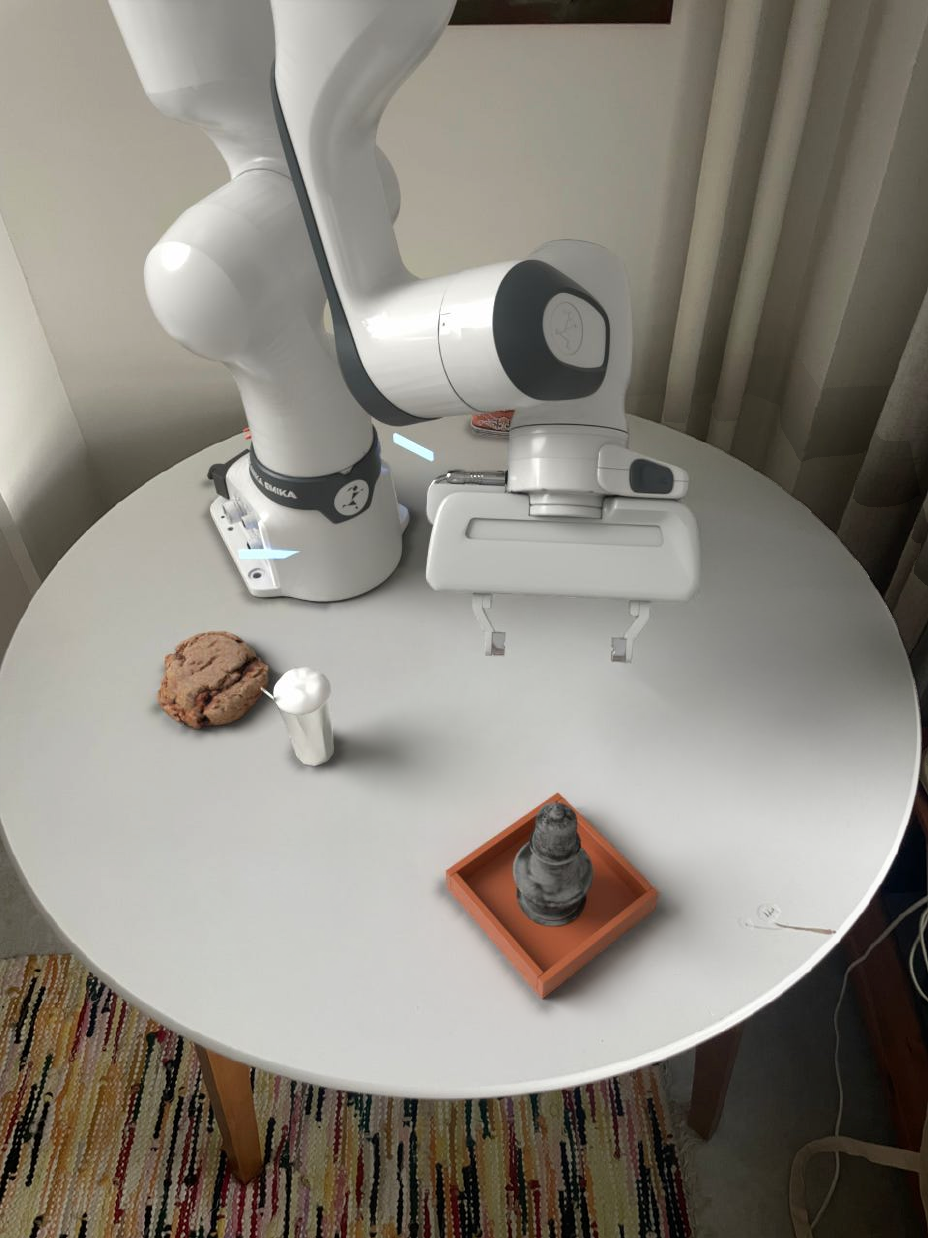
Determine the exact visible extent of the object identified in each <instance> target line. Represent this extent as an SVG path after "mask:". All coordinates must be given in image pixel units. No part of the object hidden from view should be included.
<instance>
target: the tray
mask: <svg viewBox="0 0 928 1238" xmlns="http://www.w3.org/2000/svg"><path fill="white" fill-rule="evenodd" d="M553 802H559V803H563V804H566V805H568V806H569V807H570V808H572V809H573V811H574V812H575V814H576V817H577V822H578V825H577V833H578V834H579V837H580V840H581V847H582V848H583V849H584V850H585V851H586V852H587V854H588V856H589V857H590V859H591V862H592V865H593V880H592V884H591V887H590V889H589V890H588V892H587V893H586V903H585V907H584V909H583V911H582V912H581V914H580V915H579V916H578V917H577V918H576V919H575V920H574V921H572V922H570V923H568V924H566V925H562V926H557V927H551V926H544V925H541V924H537V923H536V922H534V921H532V920H531V919H529V918H528V917H527V916H526V915H525V914H524V913H523V912H522V910H521V908H520V906H519V904H518V900H517V885H516V883H515V880H514V876H513V863H514V860H515V857H516V855H517V853H518V852H519V851H520V849H521V848H522V847H523V846H524V845H525V844H526V843H528V842H529V838H530V835H531V833H532V831H533V830H534V829H535V825H536V816H537V813H538V811H539V810H540V809H541V807H543V806H544V805H546V804H548V803H553ZM445 880H446V888H447V890H449V892H450V893H451V894H452V895H453V896H454V898H455V899H456V900H457V901H458V902H459V903H460V905H461V906H462V907H463V908H464V909H465V910H466V912H467V913H468V915H470V916H471V918H473V920H474V921H475V922H476V923H477V925H479V927H480V928H481V929H482V930H483V932H484V933H485V934H486V935H487V936H488V938H489V939H490V940H491V941H492V942H493V944H494V945H495V946H496V947H497V948H498V949H499V951H501V953H502V954H503V955H504V956H505V958H506V959H507V960H508V961H509V962H510V963H511V965H512V966H513V967H514V968H515V969H516V970H517V972H518V973H519V974H520V975H521V976H522V977H523V979H524V980H525V981H526V983H528V984H529V986H530V987H531V988H532V990H533V991H534V992H535V993H536V994H537V995H538V996H539V997H540V999H541V1000H543V999H544V998H546V997H547V996H548V995H549V994H551V993H552V992H553V991H554V990H555V989H557V988H558V987H559V986H561V985H562V984H564V982H565V981H567V980H569V979H570V978H571V977H573V975H575V974H576V973H577V972H578V971H579V970H581V969H582V968H583V967H584V966H586V965H587V964H588V963H590V962H591V961H592V960H593V959H595V958H596V957H597V956H598V955H599V954H601V953H602V952H603V951H604V950H606V949H607V948H608V947H609V946H610V945H612V944H613V943H614V942H616V941H617V940H618V939H619V938H621V937H622V936H623V935H624V934H625V933H627V932H628V931H629V930H630V929H632V928H634V926H636V925H637V924H638V923H639V922H641V921H642V920H643V919H644V918H645V917H647V916H648V915H649V914H650V913H652V912H654V910H656V908H657V903H658V899H659V895H660V892H659V891H658V889H656V887H654V886H653V885H652V883H650V882H649V881H648V880H647V879H646V878H645V877H644V875H642V874H641V873H640V872H639V871H638V870H637V869H636V868H635V867H634V866H633V864H631V863H630V862H629V861H628V860H627V859H626V858H625V856H623V855H622V854H621V853H620V852H619V851H618V850H617V849H616V848H615V847H614V846H613V845H612V844H611V843H610V842H609V841H608V840H607V839H606V838H605V837H604V836H603V835H602V834H601V833H600V832H599V831H598V830H597V829H596V828H595V827H594V826H593V825H591V823H590V822H589V821H588V820H586V818H584V817H583V815H582V814H580V812H578V810H577V809H575V807H574V806H573V805H571V803H570V802H568V800H566V798H564V797H563V795H562V794H561V793H560V792H555V793H554V794H552V795H551V796H550V797H549V798H547V799H546V800H545V801H543V802H542V803H541V804H538V805H537V806H536V807H535V808H533V809H532V810H530V811H529V812H528V813H526V814H524V815H523V816H521V817H520V818H518V820H515V821H514V822H513V823H511V824H510V825H509V826H507V827H505V829H503V830H502V831H500V832H499V833H497V834H496V835H495V836H493V837H492V838H490V839H489V840H487V841H486V842H484V843H483V844H481V845H480V846H479V847H477V848H476V849H475V850H472V852H470V853H469V854H468V855H466V856H464V857H463V858H461V860H459V861H458V862H456V863H454V864H453V865H452V866H450V867H449V868H447V869H446V870H445Z"/></svg>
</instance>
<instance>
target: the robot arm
mask: <svg viewBox="0 0 928 1238" xmlns="http://www.w3.org/2000/svg"><path fill="white" fill-rule="evenodd" d="M457 1H458V0H107V2H108V5H109V7H110V10H111V12H112V15H113V17H114V20H115V22H116V25H117V28H118V29H119V32H120V35H121V37H122V39H123V42H124V45H125V47H126V49H127V52H128V54H129V57H130V59H131V61H132V64H133V66H134V69H135V71H136V74H137V76H138V79H139V81H140V83H141V86H142V88H143V91H144V93H145V95H146V97H147V98H148V100H149V101H150V102H151V104H152V105H153V106H154V107H155V108H156V109H157V110H158V111H159V112H160V113H161V114H163V115H164V116H166V117H168V118H169V119H171V120H174V121H176V122H179V123H181V124H185V125H187V126H193V127H196V128H199V129H200V130H202V132H204V134H206V136H207V137H208V138H209V139H210V140H211V141H212V143H213V144H214V146H215V147H216V149H217V150H218V151H219V154H221V156H222V158H223V160H224V162H225V163H226V165H227V168H228V170H229V175H230V181H228V182H227V183H225V184H224V185H222V186H221V187H219V188H218V189H215V191H213V192H211V193H210V194H208V195H207V196H205V197H204V198H202V199H201V200H199V201H198V202H196V203H194V204H193V205H191V206H190V207H188V208H187V209H186V210H184V211H183V212H182V213H181V214H180V215H179V217H177V219H176V220H175V221H174V222H173V223H172V224H171V225H170V227H168V229H167V230H166V231H165V232H164V233H163V234H162V236H161V237H160V238H159V240H158V241H157V242H156V243H155V244H154V245H153V247H152V248H151V250H150V251H149V252H148V254H147V256H146V259H145V262H144V265H143V266H144V267H143V282H144V290H145V293H146V297H147V300H148V303H149V306H150V309H151V310H152V313H153V315H154V317H155V318H156V320H157V322H158V324H159V325H160V326H161V328H162V329H163V330H164V331H165V332H166V334H167V335H168V336H169V337H170V338H171V339H172V340H173V341H175V342H176V343H177V344H178V345H179V346H180V347H182V348H184V349H185V350H187V351H188V352H189V353H191V354H193V355H194V356H195V355H196V356H197V357H200V358H203V359H205V360H208V361H210V362H211V361H212V362H217V363H221V364H222V365H223V366H225V368H226V369H227V370H228V372H229V373H230V374H231V376H232V377H233V379H234V382H235V383H236V386H237V388H238V391H239V395H240V398H241V402H242V405H243V409H244V414H245V417H246V421H247V425H248V427H246V428H245V429H243V432H244V433H247V432H249V433H248V434H247V435H245V437H244V439H245V440H250V439H251V442H250V446H249V448H246V449H244V450H243V451H241V452H239V453H238V454H237V455H235V456H233V457H232V458H231V459H229V460H227V461H226V462H225V463H214V464H212V465H211V466H210V467H209V468H208V471H207V474H206V477H207V479H208V480H209V481H210V480H212V481H213V484H214V485H213V486H214V488H215V492H216V494H217V495H218V497H216V498H215V499H214V501H213V502H212V503H211V505H210V507H209V510H210V516H211V518H212V520H213V522H214V524H215V527H216V529H217V530H218V532H219V534H220V536H221V538H222V540H223V543H224V544H225V547H226V548H227V550H228V552H229V554H230V556H231V558H232V560H233V563H234V564H235V565H236V569H238V572H239V573H240V576H241V577H242V580H243V582H244V584H245V585H246V587H247V589H248V592H249V593H250V594H251V595H252V596H254V597H257V598H276V597H288V598H289V597H290V598H294V599H298V600H303V601H311V602H334V601H342V600H347V599H351V598H354V597H357V596H360V595H362V594H365V593H367V592H369V591H372V590H373V589H374V588H376V587H378V586H380V584H382V583H383V582H385V581H386V580H387V579H388V578H389V577H390V576H391V575H392V574H393V572H394V571H395V570H396V569H397V567H398V566H399V563H400V561H401V559H402V555H403V534H404V532H405V531H406V528H407V527H408V525H409V523H410V519H411V517H410V513H409V509H408V508H407V507H406V506H405V505H403V504H402V503H399V501H398V496H397V491H396V487H395V482H394V477H393V476H394V475H393V471H392V467H391V465H390V463H389V462H388V461H386V460H384V459H383V458H382V446H381V441H380V438H379V436H378V435H379V434H378V430H377V428H376V427H375V425H374V424H373V420H372V419H374V420H376V421H378V422H380V423H382V424H384V425H388V426H390V427H398V428H399V427H406V426H411V425H416V424H421V423H422V424H423V423H426V422H427V423H428V422H431V421H436V420H440V419H442V418H449V417H460V416H462V417H463V416H472V415H474V414H485V413H492V412H496V411H503V410H514V409H515V411H514V415H513V417H512V420H511V424H510V432H509V439H508V452H507V453H508V454H507V469H506V470H492V469H491V470H486V469H485V470H466V469H462V468H461V469H460V468H456V469H454V468H453V469H448V470H447V472H446V473H445V474H441V475H439V476H437V477H436V478H434V479H433V480H432V481H431V482H430V483H429V485H428V488H427V490H426V498H425V516H426V519H427V521H428V522H429V524H430V525H431V527H432V529H431V534H430V539H429V543H428V549H427V558H426V567H425V578H426V581H427V583H428V585H429V586H430V587H431V588H432V589H433V590H434V591H435V592H446V593H465V594H472V602H471V609H472V611H473V613H474V615H475V618H476V619H477V622H478V623H479V625H480V626H481V629H482V631H483V632H484V633H485V638H484V657H485V656H487V657H505V655H506V654H505V653H506V646H505V642H506V635H507V633H506V631H496V629H495V628H494V626H493V624H492V622H491V620H490V618H489V616H488V614H487V612H486V610H491V609H492V608H493V607H492V606H493V595H509V596H510V595H512V596H529V597H530V596H533V597H534V596H535V597H553V598H573V599H574V598H576V599H597V600H620V601H622V600H623V601H628V611H627V613H628V615H629V616H631V617H634V618H633V620H632V622H631V623H630V624H629V626H628V627H627V629H626V631H625V632H624V634H623V635H622V637H611V645H610V646H611V648H612V650H611V651H610V661H611V663H621V664H622V663H626V664H632V662H633V654H634V652H633V651H634V640H636V639H637V637H638V636H639V634H640V632H641V631H642V630H643V629H644V626H645V625H646V623H647V622H648V621H649V619H650V618H651V602H657V603H659V602H661V603H678V604H679V603H680V604H681V603H682V604H689V603H691V602H692V601H694V599H695V598H696V597H697V596H698V595H699V594H700V592H701V589H702V553H701V541H700V540H701V539H700V532H699V525H698V521H697V519H696V517H695V514H694V512H693V511H692V510H691V508H690V507H689V506H688V505H687V504H685V503H684V502H681V501H682V500H683V499H684V498H685V497H686V496H687V494H688V491H689V483H690V479H689V473H688V472H687V471H686V470H685V469H684V468H681V467H679V466H678V465H674V464H671V463H668V462H665V461H662V460H660V459H657V458H654V457H651V456H648V455H645V454H642V453H640V452H637V451H636V450H635V451H634V450H632V449H629V437H630V431H629V429H630V428H629V422H628V419H627V415H626V398H627V392H628V388H629V387H630V383H631V380H632V375H633V359H634V357H633V356H634V354H633V353H634V320H633V319H634V317H633V305H632V303H633V302H632V294H631V293H632V292H631V286H630V280H629V275H628V271H627V267H626V264H625V263H624V261H623V259H622V258H621V257H620V256H619V255H617V254H616V253H615V252H613V251H612V250H610V249H608V248H606V247H605V246H603V245H600V244H597V243H594V242H590V241H587V240H580V239H572V238H571V239H570V238H569V239H554V240H549V241H545V242H544V243H541V244H539V245H537V246H536V247H534V248H533V249H532V251H531V252H530V253H529V255H527V256H525V257H521V258H519V259H510V260H504V261H497V262H493V263H488V264H483V265H478V266H474V267H469V268H466V269H464V270H460V271H454V272H450V273H445V274H440V275H435V276H430V277H429V276H428V277H425V278H420V277H418V276H416V275H415V274H413V273H412V272H411V271H410V270H409V269H408V268H407V267H406V265H405V264H404V262H403V260H402V257H401V253H400V249H399V244H398V241H397V238H396V233H395V230H394V225H395V224H396V222H397V219H398V217H399V215H400V211H401V205H402V204H401V202H402V201H401V199H402V198H401V197H402V196H401V188H400V182H399V180H398V177H397V173H396V171H395V169H394V167H393V165H392V163H391V161H390V160H389V158H388V157H387V155H386V154H385V152H384V151H383V150H382V149H381V148H380V147H379V145H377V134H378V129H379V125H380V122H381V119H382V116H383V114H384V112H385V110H386V108H387V106H388V105H389V103H390V101H391V100H392V99H393V98H394V96H395V95H396V94H397V92H398V91H399V89H400V88H401V87H402V86H403V85H404V84H405V83H406V82H407V80H408V79H409V78H410V77H411V76H412V75H413V74H414V73H415V72H416V70H418V68H419V67H420V66H421V65H422V64H423V63H424V61H425V60H426V59H427V58H428V57H429V56H430V54H431V53H432V52H433V50H434V49H435V47H436V46H437V44H438V43H439V41H440V39H441V38H442V36H443V34H444V33H445V30H446V29H447V27H448V25H449V23H450V21H451V18H452V16H453V14H454V10H455V7H456V5H457V3H458V2H457ZM327 301H328V305H329V311H330V314H331V320H332V328H333V333H331V332H328V331H327V330H326V327H325V320H324V319H325V317H324V316H325V315H324V313H325V309H326V304H327ZM393 442H394V443H395V444H397V445H399V446H401V447H403V448H405V449H407V450H409V451H411V452H413V453H414V454H417V455H418V456H420V457H422V458H424V459H426V460H428V461H430V462H432V461H434V452H433V451H432V450H429V449H428V448H425V447H423V446H421V445H419V444H417V443H416V442H414V441H411V440H410V439H407V438H406V437H404V436H402V435H400V434H398V433H396V432H395V433H394V434H393ZM442 481H446V483H441V482H442Z"/></svg>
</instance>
